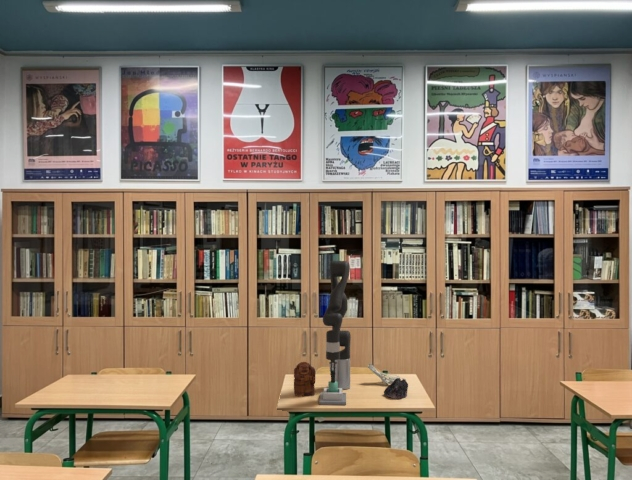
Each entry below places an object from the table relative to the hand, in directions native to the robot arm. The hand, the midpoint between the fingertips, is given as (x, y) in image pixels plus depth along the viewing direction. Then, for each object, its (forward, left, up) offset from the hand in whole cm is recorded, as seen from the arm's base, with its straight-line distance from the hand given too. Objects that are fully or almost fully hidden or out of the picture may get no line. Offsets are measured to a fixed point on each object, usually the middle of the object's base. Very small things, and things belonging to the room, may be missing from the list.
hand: (333, 382), depth 266 cm
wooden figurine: (-9, -16, -10) cm, 21 cm away
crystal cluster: (-10, +35, -10) cm, 37 cm away
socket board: (0, 0, -10) cm, 10 cm away
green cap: (0, 0, -8) cm, 8 cm away
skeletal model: (-34, +32, -10) cm, 48 cm away
